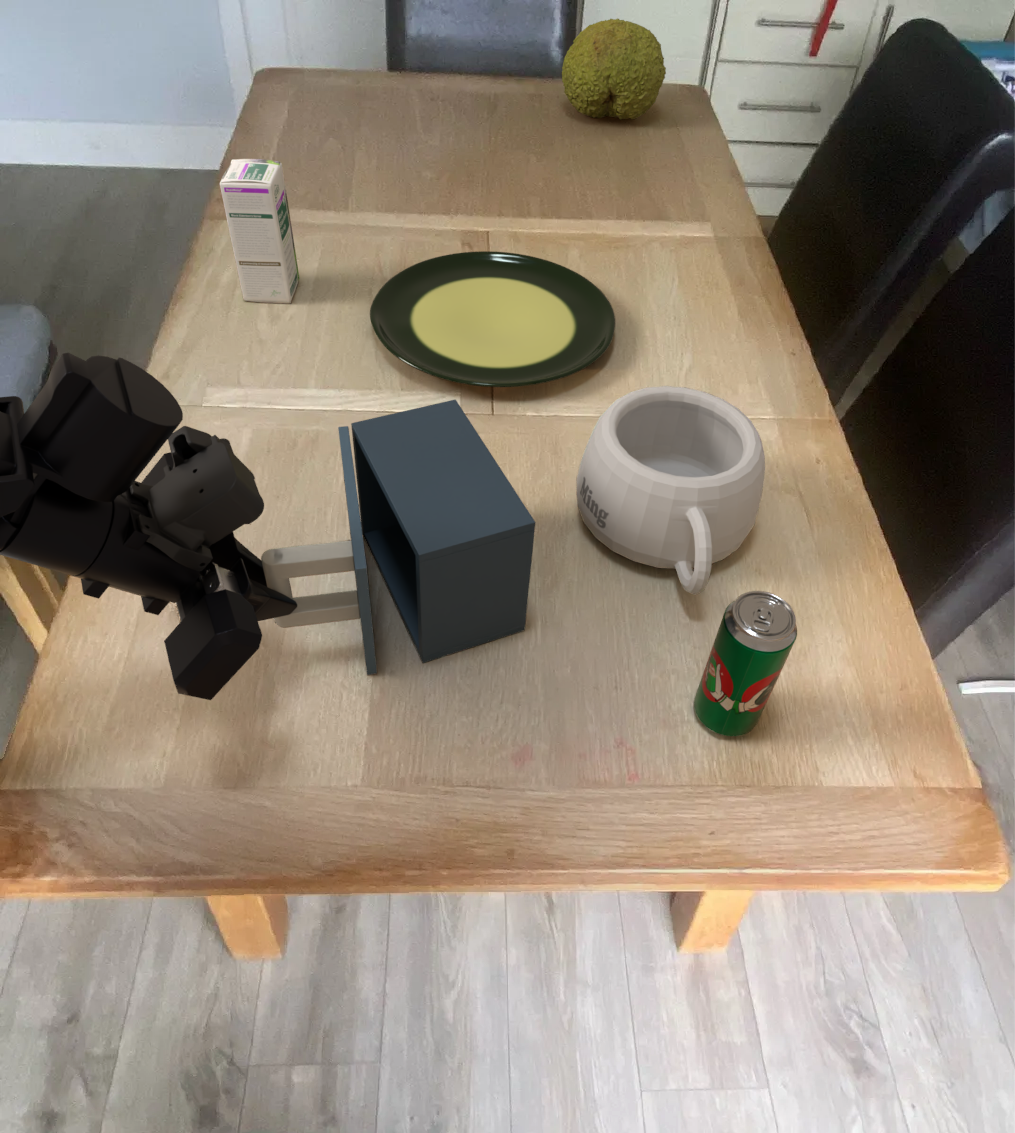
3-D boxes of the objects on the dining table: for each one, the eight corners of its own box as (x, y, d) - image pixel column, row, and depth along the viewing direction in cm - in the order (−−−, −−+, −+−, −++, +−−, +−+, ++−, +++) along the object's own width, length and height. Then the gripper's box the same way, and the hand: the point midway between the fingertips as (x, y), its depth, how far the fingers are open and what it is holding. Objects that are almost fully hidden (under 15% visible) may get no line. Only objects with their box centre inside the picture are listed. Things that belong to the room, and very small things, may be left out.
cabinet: (422, 663, 72) (418, 555, 63) (361, 533, 81) (350, 422, 72) (524, 630, 75) (535, 522, 66) (454, 508, 84) (455, 398, 75)
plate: (662, 361, 102) (666, 342, 100) (444, 433, 92) (444, 413, 90) (531, 249, 118) (533, 231, 116) (332, 300, 107) (331, 281, 106)
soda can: (761, 697, 71) (805, 598, 63) (752, 749, 68) (797, 652, 59) (698, 678, 72) (733, 578, 64) (686, 728, 69) (721, 630, 60)
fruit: (580, 139, 142) (554, 33, 136) (572, 138, 155) (548, 41, 149) (681, 104, 141) (659, -5, 134) (664, 106, 154) (643, 7, 147)
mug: (563, 457, 90) (573, 373, 83) (727, 456, 91) (751, 373, 84) (592, 625, 75) (607, 542, 68) (786, 620, 77) (822, 538, 70)
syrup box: (291, 304, 106) (274, 182, 96) (241, 302, 106) (218, 179, 95) (300, 279, 110) (284, 159, 99) (251, 277, 110) (230, 156, 99)
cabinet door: (284, 686, 70) (260, 580, 61) (278, 542, 80) (257, 433, 71) (377, 673, 71) (366, 568, 62) (359, 534, 81) (348, 425, 72)
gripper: (192, 544, 47) (402, 618, 58) (137, 351, 58) (322, 445, 70) (78, 679, 50) (298, 725, 62) (47, 472, 62) (237, 543, 73)
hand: (290, 599), depth 67 cm, fingers closed on cabinet door, 2 cm apart
